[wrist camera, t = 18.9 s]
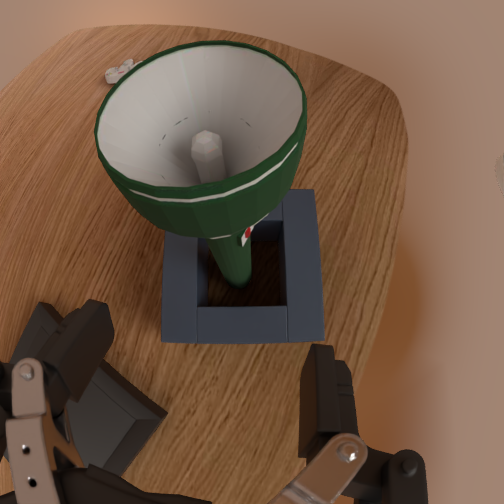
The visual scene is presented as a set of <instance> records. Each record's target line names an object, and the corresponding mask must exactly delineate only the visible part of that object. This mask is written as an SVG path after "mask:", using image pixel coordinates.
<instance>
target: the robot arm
mask: <svg viewBox="0 0 504 504" xmlns="http://www.w3.org/2000/svg"><path fill="white" fill-rule="evenodd" d="M113 339H114V328H113V324H112V320H111V316H110V312H109V308H108V305H107V304H106V303H103V302H100V301H96V300H92V299H89V300H87V301H86V303H85V304H84V305H83V306H82V307H81V309H79V308H77V309H75V310H74V311H72V312H71V313H69V314H68V315H67V316H66V317H65V318H64V320H63V321H62V322H61V325H59V326H58V327H57V328H56V330H55V332H53V334H52V335H51V336H50V337H49V339H48V340H47V341H46V343H45V344H44V345H43V347H42V348H41V349H40V351H39V352H38V353H37V355H36V356H35V357H34V358H25V359H22V360H20V361H19V362H18V363H17V364H9V363H3V362H1V361H0V462H1V459H2V457H3V455H4V452H5V450H6V448H7V447H8V455H9V462H10V469H11V475H12V480H13V485H14V490H15V491H12V492H9V493H7V494H4V495H1V496H0V504H212V502H211V501H206V500H201V499H196V498H192V497H187V496H183V495H179V494H160V493H148V492H144V491H142V490H140V489H138V488H137V487H135V486H133V485H132V484H130V483H129V482H127V481H126V480H124V479H122V478H121V477H119V476H118V475H116V474H114V473H112V472H109V471H107V470H104V469H102V468H100V467H97V466H95V465H93V464H90V463H89V465H88V468H85V467H84V464H83V461H82V459H81V456H80V454H79V453H78V451H77V449H76V446H75V443H74V439H73V435H72V430H71V426H70V421H69V416H68V410H67V406H66V403H67V401H68V399H69V400H71V401H74V402H76V403H78V402H79V400H80V398H81V397H82V395H83V393H84V391H85V389H86V388H87V386H88V384H89V382H90V380H91V379H92V377H93V375H94V373H95V372H96V370H97V368H98V366H99V365H100V363H101V361H102V360H103V358H104V356H105V355H106V353H107V351H108V350H109V348H110V346H111V344H112V342H113ZM353 394H354V392H353V386H352V377H351V372H350V370H349V368H348V367H347V365H346V363H345V362H344V361H341V360H335V357H334V349H333V346H331V345H322V344H312V345H311V348H310V350H309V353H308V356H307V358H306V361H305V363H304V366H303V369H302V372H301V378H300V415H299V447H298V457H299V458H306V467H305V468H304V469H303V470H302V471H301V472H300V473H299V474H298V475H297V476H296V477H295V478H294V479H293V480H292V481H291V482H290V483H289V484H288V485H287V486H286V487H285V488H283V489H282V490H281V491H280V492H279V493H278V494H277V495H276V496H275V497H274V498H273V499H272V500H270V501H269V502H268V503H267V504H332V503H333V502H334V501H335V500H336V499H337V498H338V496H339V495H344V496H348V497H352V498H354V504H428V493H427V481H426V470H425V463H424V460H423V458H422V457H421V456H420V455H419V454H418V453H417V452H415V451H413V450H407V449H406V450H401V451H399V452H397V453H396V454H394V455H393V454H389V453H385V452H381V451H378V450H374V449H372V448H370V447H368V446H367V445H366V444H365V443H364V441H363V440H362V439H361V438H360V436H359V433H358V426H357V417H356V409H355V400H354V396H353Z"/></svg>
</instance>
